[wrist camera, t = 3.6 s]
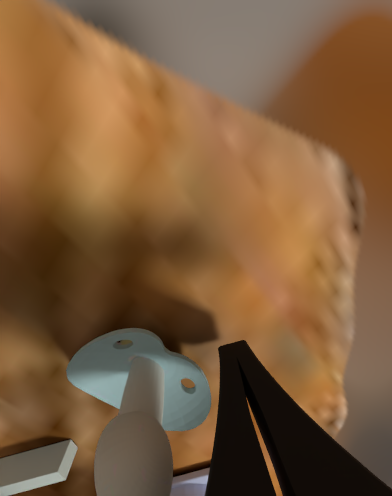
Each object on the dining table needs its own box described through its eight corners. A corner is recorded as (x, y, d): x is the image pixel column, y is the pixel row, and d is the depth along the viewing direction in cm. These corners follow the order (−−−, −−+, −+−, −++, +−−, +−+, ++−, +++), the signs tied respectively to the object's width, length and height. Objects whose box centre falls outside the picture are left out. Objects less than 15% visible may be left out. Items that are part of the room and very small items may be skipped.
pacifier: (153, 411, 13) (219, 362, 12) (129, 603, 7) (255, 546, 6) (54, 359, 11) (122, 292, 10) (-97, 575, 5) (30, 473, 4)
